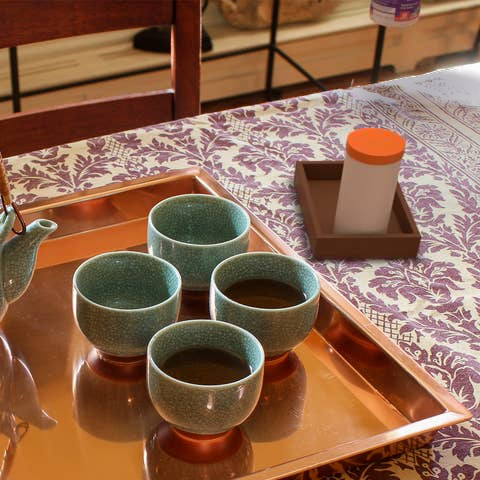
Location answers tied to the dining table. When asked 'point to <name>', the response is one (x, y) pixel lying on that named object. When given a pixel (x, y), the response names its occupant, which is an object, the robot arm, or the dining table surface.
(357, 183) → the orange-capped white bottle
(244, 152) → the dining table surface
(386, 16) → the pill bottle
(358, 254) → the tray
